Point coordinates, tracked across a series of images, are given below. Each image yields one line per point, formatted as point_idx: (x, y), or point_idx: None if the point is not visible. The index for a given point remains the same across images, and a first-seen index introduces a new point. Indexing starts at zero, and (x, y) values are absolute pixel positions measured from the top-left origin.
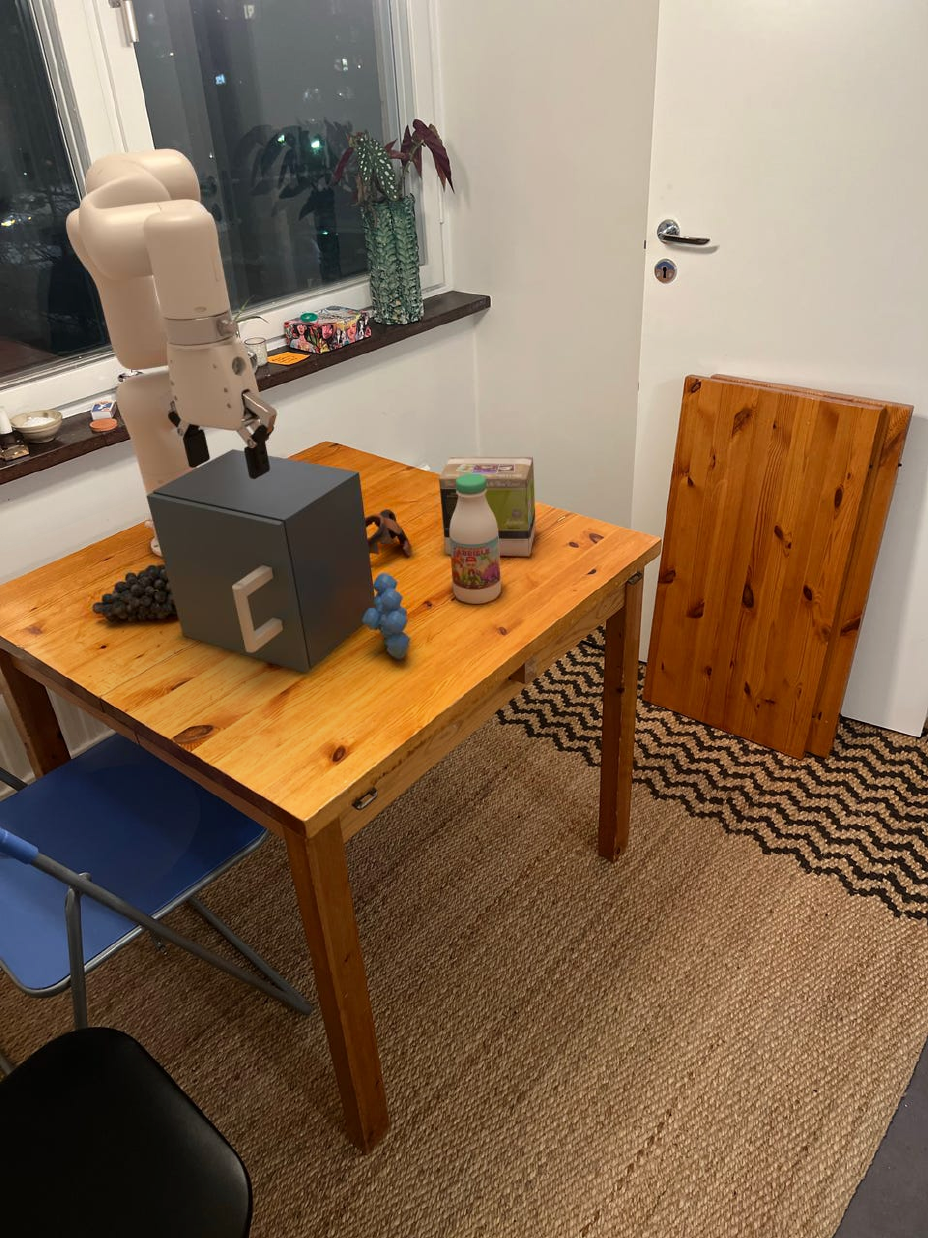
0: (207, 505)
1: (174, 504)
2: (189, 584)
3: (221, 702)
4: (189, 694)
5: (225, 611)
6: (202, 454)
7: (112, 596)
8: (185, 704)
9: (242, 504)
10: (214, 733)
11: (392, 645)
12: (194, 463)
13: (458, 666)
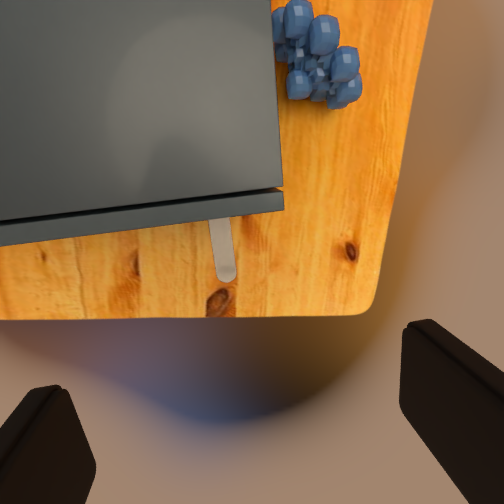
0: (10, 225)
1: None
2: None
3: (200, 260)
4: (160, 270)
5: None
6: (57, 455)
7: None
8: (172, 282)
9: (100, 174)
10: (233, 293)
11: (336, 108)
12: (88, 480)
13: (384, 67)
